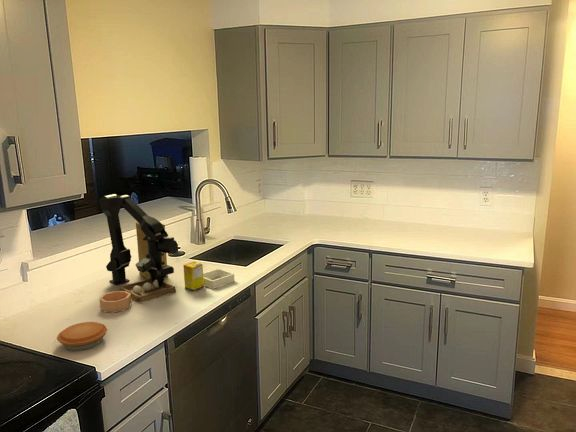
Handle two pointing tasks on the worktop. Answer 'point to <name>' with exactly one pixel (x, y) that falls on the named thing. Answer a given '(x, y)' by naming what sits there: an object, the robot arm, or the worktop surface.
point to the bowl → (115, 301)
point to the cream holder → (226, 279)
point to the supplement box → (193, 276)
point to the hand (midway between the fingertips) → (157, 285)
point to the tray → (148, 295)
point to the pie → (82, 335)
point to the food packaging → (145, 248)
